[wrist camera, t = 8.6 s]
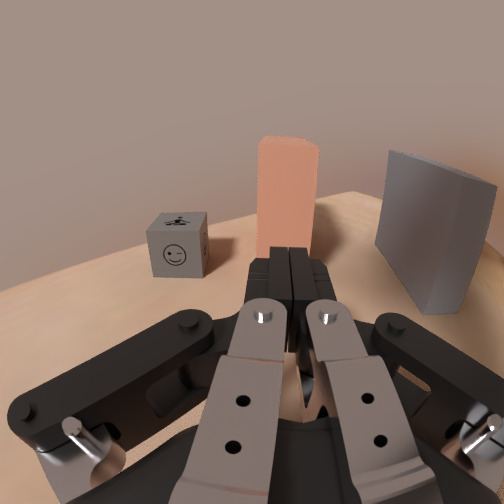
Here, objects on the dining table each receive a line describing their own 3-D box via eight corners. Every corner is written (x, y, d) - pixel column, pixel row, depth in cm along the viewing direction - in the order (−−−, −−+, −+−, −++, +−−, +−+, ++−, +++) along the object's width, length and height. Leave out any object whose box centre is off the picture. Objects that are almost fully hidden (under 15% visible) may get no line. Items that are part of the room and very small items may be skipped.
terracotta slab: (263, 226, 38) (266, 135, 33) (296, 228, 38) (301, 137, 32) (255, 286, 25) (258, 143, 19) (304, 289, 25) (319, 147, 19)
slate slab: (374, 244, 34) (389, 149, 28) (403, 245, 34) (419, 155, 28) (422, 315, 20) (462, 176, 15) (456, 313, 20) (497, 186, 15)
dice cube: (153, 278, 26) (145, 231, 24) (166, 254, 30) (161, 213, 28) (203, 279, 26) (199, 230, 24) (209, 255, 30) (206, 212, 28)
